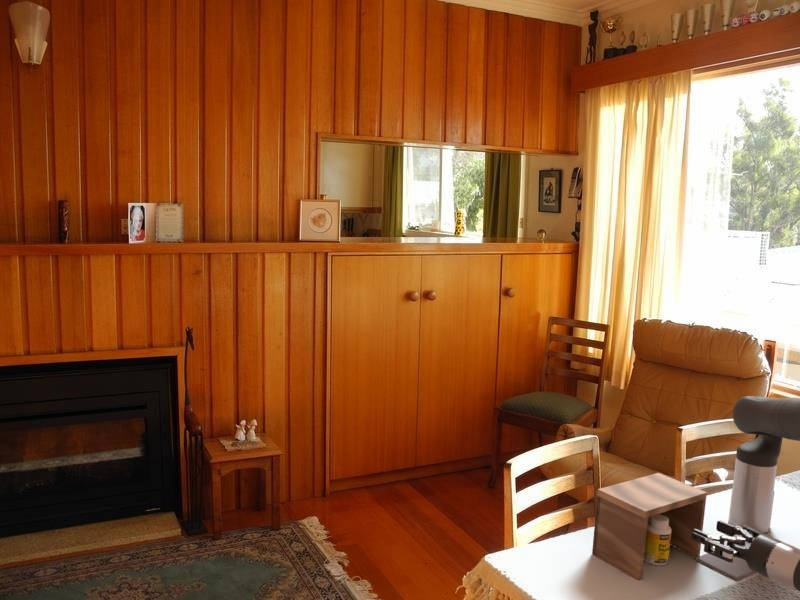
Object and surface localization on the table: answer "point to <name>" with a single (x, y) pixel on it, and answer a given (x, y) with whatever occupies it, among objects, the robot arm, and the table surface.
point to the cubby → (645, 519)
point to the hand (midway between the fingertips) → (705, 529)
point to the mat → (727, 566)
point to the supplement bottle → (657, 540)
